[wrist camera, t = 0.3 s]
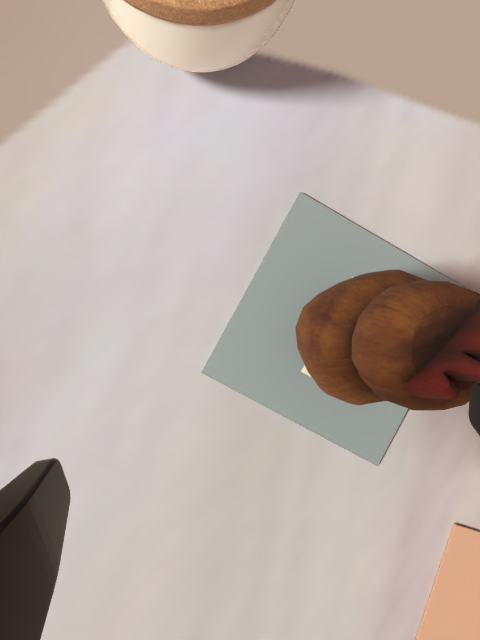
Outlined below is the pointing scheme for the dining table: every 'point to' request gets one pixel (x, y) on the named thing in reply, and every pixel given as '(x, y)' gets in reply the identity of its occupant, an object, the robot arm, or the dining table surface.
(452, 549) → the tile
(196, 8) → the lidded jar
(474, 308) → the wooden figurine
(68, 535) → the dining table surface
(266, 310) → the tile
